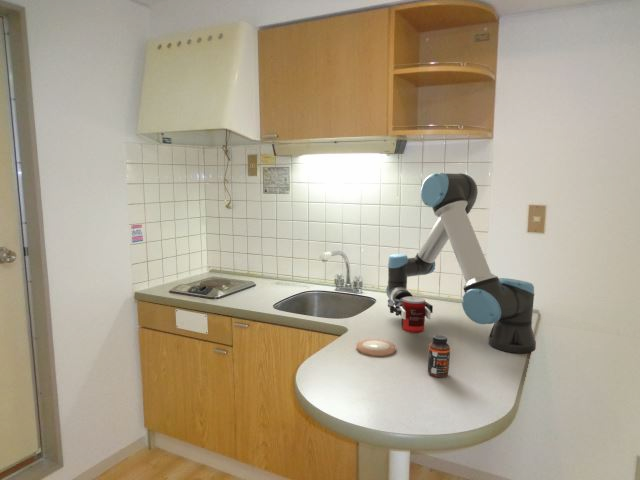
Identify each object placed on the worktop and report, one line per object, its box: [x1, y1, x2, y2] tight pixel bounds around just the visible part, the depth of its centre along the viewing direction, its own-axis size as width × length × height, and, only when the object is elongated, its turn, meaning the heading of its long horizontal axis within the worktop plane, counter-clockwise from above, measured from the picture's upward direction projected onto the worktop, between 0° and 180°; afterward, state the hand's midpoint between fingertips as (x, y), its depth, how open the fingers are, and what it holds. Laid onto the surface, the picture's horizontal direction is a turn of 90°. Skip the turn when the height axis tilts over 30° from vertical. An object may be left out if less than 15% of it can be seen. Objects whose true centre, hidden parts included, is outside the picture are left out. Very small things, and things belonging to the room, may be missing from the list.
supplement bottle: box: [427, 334, 451, 378], centre depth 136 cm, size 6×6×11 cm
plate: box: [355, 338, 397, 357], centre depth 156 cm, size 13×13×1 cm
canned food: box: [401, 295, 426, 334], centre depth 161 cm, size 8×8×11 cm
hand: (416, 315), depth 156 cm, fingers closed on canned food, 8 cm apart
